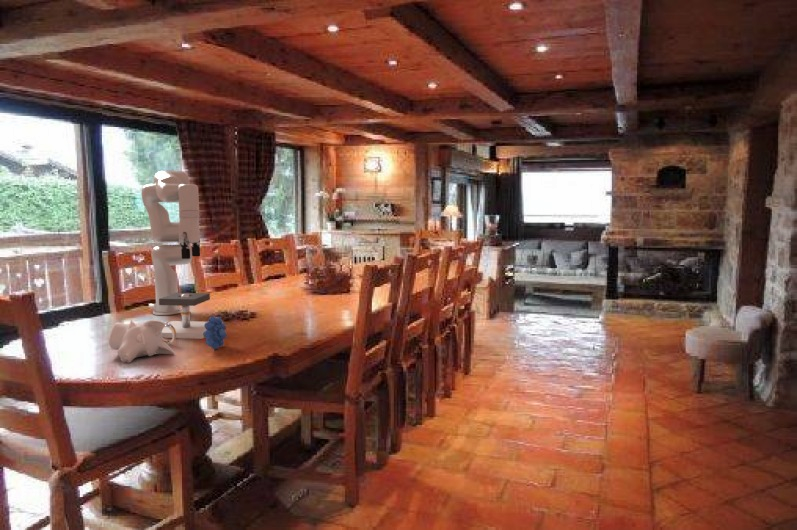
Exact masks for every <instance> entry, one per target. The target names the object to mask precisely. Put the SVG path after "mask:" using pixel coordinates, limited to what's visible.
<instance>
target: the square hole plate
mask: <svg viewBox="0 0 797 530" xmlns="http://www.w3.org/2000/svg"><path fill="white" fill-rule="evenodd" d="M182 294H189V297H181V295H182ZM210 295H211V293H210V292H198V293H197V292H178V293H174V294H171V295H168V296H166V297H163V298H160V299H159V305H177V306H178V307H179V306H180V307H181V306H191V307H194V306H195V307H196V306H197V305H200V304H202V303H205V302H206V301H209V300H211V296H210Z"/></svg>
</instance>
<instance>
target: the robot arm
mask: <svg viewBox="0 0 797 530" xmlns="http://www.w3.org/2000/svg"><path fill="white" fill-rule="evenodd" d="M153 182H154V183H148V184H144V186H143V187H142V189H141V200H142V203H143V205H144V207H145V210H146V213H147V214H148V219H149V224H150V225H149V226H150V231H151V236H152V240H153V241H154V242H155V243H158V244H160V245H156V246H154V247H153V248H152V249H151V254H150V255H151V257H150V258H151V261H152V265H153V271H154V272H153V273H154V290H155V303H148V309H153V310H152V314H153V315H154V316H170V315H177V314H181V312H182V308H179V306H177V305H159V299H160V298H163V297H166V296H168V295H171V294H174V293H179V292H178V291H179V289H178V275H177V273H176V271H175V270H174V269H173V268H172V267H171V266H177V265H178V266H180V265H188V264H190V263H191V262H192V261H193V257H201V234H200V233H201V231H200V222H199V219H200V202H199V200H200V199H199V187H198V185H197V184H195V183H190V179H189V175H188V173H186V172H185V171H181V170H160V171H157V172H156V173H155V175H154V176H153ZM161 203H178V212H179V214H178V215H179V218H178V219H179V222H178V221H177V222H176V221H175V222H173V221H171V220H170V215H169V212H168V210H167V209H166V208H165V207H164V206H163V205H162V204H161ZM169 243H170V244H169ZM175 243H176V244H175Z"/></svg>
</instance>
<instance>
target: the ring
mask: <svg viewBox="0 0 797 530" xmlns="http://www.w3.org/2000/svg"><path fill="white" fill-rule="evenodd" d="M164 323H165V326H164V327H168V328H170V329H171V331H172V334H173V338H171V340H170V341H169V340H165V338H163V341H164V342H165V343H166V344H167V345H168V346H169V345H170V344H173V343H174V341H175V340H176V339H177V338H176V330H175V328H174V327H173V326H172V325H171V324H170V323H169V321H168V322H164ZM168 323H169V324H168ZM161 332H162V331H161Z"/></svg>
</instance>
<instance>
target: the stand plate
mask: <svg viewBox="0 0 797 530" xmlns="http://www.w3.org/2000/svg"><path fill="white" fill-rule="evenodd" d="M206 322H207V321H199V320H196V321H191V320H190V327H188V328H183V327H182V320H171V321H168V324H169V323H170V324H171V325H172V326H173V327H174V328H175V330H176V338H175V339H199V340H200V339H204V338H205V337H204V335H203V333H204V331H206V328H205V327H204V325H205V323H206ZM222 323H224V321H222ZM162 336H163V339H167V338H168V339H172V338H173V334H172V331H171V329H170V328H168V327H164V328H163V330H162ZM205 339H206V338H205Z"/></svg>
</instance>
